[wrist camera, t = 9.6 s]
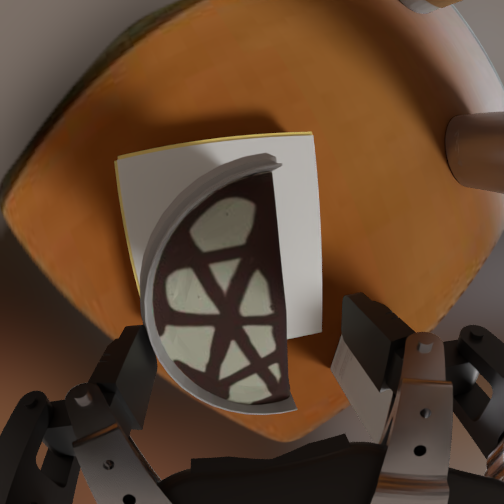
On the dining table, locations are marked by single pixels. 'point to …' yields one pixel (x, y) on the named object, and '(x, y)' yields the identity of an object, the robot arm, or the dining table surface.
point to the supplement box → (361, 391)
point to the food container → (221, 290)
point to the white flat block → (286, 197)
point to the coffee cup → (427, 5)
